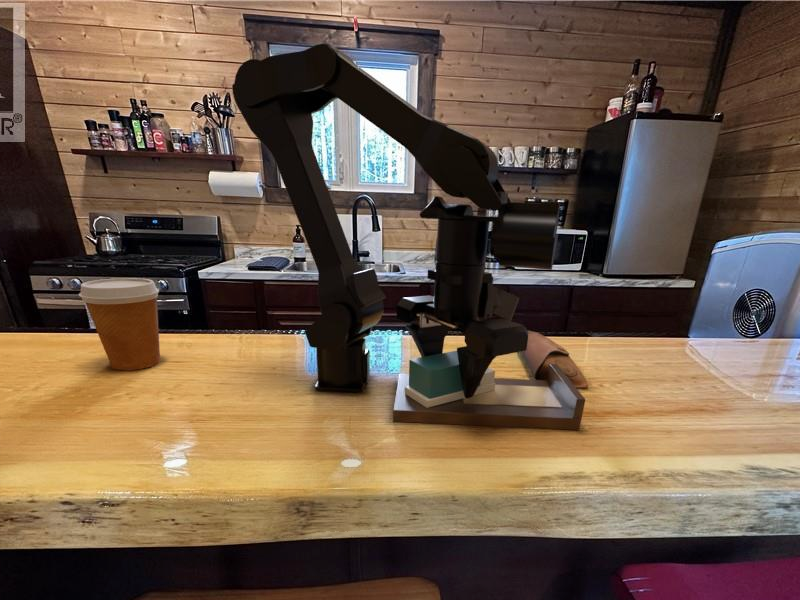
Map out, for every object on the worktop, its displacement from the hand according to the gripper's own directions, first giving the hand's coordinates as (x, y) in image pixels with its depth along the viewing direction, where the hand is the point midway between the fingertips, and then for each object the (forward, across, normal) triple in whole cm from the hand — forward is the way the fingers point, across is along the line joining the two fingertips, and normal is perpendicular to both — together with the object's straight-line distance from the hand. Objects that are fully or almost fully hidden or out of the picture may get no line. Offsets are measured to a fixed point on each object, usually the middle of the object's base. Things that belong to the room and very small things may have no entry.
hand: (450, 387), depth 56 cm
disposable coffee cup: (+2, +34, +33) cm, 48 cm away
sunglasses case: (+2, +3, -23) cm, 23 cm away
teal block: (+1, 0, 0) cm, 1 cm away
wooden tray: (+2, -2, -3) cm, 5 cm away
